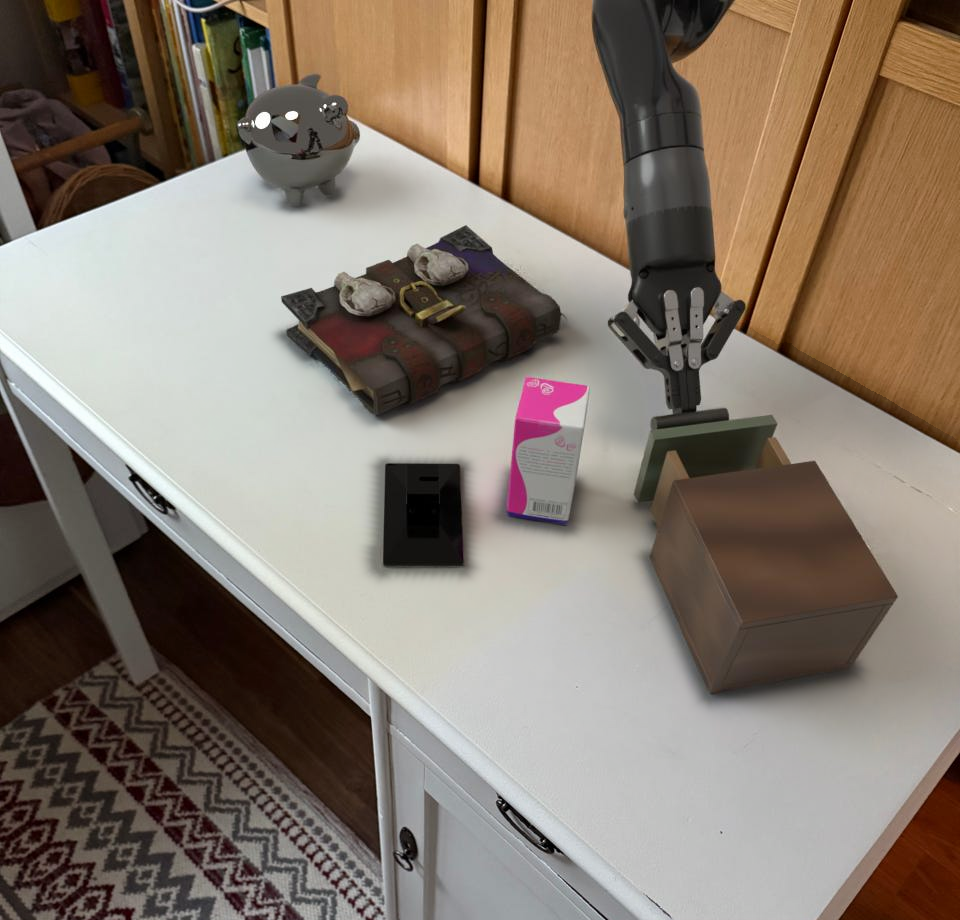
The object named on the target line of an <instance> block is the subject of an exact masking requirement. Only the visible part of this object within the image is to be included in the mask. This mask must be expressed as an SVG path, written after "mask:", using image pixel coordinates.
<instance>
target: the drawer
mask: <svg viewBox="0 0 960 920" xmlns="http://www.w3.org/2000/svg"><path fill="white" fill-rule="evenodd" d="M777 426H778V422H777V420H776V418H775V417H774V415H773V414H767V415H759V416H751V417H743V418H735V419H730V413H729V409H728V408H726V407H719V408H710V409H702V410H696V411H694V412H686V413H678V414H673V413H671V414H663V415H654V416H652V417H651V419H650V430H649V433H648V437H647V440H646V445H645V448H644V452H643V457H642V460H641V464H640V468H639V472H638V476H637V480H636V484H635V487H634V491H633V496H634V499H635V501H636V503H637V504H643V503H650V502H652V504H651V507H650V512H651V515H652V517H653V519H654V522H655V524H656V526H657V528H659V525H660V522H661V518H662V515H663V512H664V509H665V505H666V502H667V499H668V495H669V492H670V489H671V486H672V483H673V481H674V480H679V479H686V478H694V477H701V476H708V475H715V474H722V473H730V472H737V471H744V470H751V469H758V468H766V467H773V466H780V465H787V464H792V462H791V461H790V459H789V457H788V455H787V454H786V452H785V451H784V449H783V447H782V445H781V443H780V441H779V440H778V438H777V437H776V436H774V434H775V432H776V429H777Z"/></svg>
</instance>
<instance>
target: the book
mask: <svg viewBox="0 0 960 920" xmlns="http://www.w3.org/2000/svg"><path fill="white" fill-rule="evenodd" d="M280 299H281V303H282V304H283V306H285V307H286V308H287V310H288V311H289V312H290V313H291V314H292V315H293V316H294V317H295V318H296V319H297V320H298V323H297V324H296V325H293V326H292V327H289V328H287V329H286V330H285V333H286V336H287V337H288V338H289V339H290V340H291V341H292V342H293V343H295V345H297V347H298V348H300V349H301V350H302V351H303V352H304V353H305V354H306V355H308V357H312V356H314V357H315V358H316V359H318V360H319V362H321V363H322V364H323V365H324V366H325V367H326V368H327V369H328V370H329V371H330V372H331V373H332V374H333V375H334V376H335V377H336V378H337V379H338V380H339V381H340V382H341V383H342V384H343V385H344V386H345V387H346V388H348V390H349V391H350V392H352V394H353V395H354V396H355V397H356V398H358V400H359V401H360V403H361V404H362V405H363V407H364V408H365V409H366V410H367V411H368V412H369V413H370V414H372V415H374V416H378V415H380V414H382V413H385V412H388V411H390V410H391V409H393V408H396V407H398V406H400V405H403V404H404V405H407V406H410V405H413V404H414V403H416V402H419V401H421V400H423V399H426V398H428V397H430V396H431V395H433V394H436V393H437V392H438V391H439V390H440V389H441V387H442V386H444V385H445V384H449V383H451V382H452V381H455V382H460V381H462V380H465V379H466V378H468V377H471V376H473V375H475V374H478V373H480V372H482V371H483V370H484V369H485V368H486V367H487V365H490V364H491V363H493V362H495V361H498V360H502V361H507V360H509V359H511V358H514V357H515V356H517V355H520V354H523V353H524V352H527V351H529V350H531V349H532V348H533V346H534V345H535V343H537V342H540V341H542V340H544V339H546V338H548V337H551V336H553V335H555V334H556V333H558V331H560V329H561V328H560V327H561V320H562V316H563V317H564V318H565V319H566V321H568V319H567V316H565V314H564V313H562V312H561V308H560V305H559V304H558V303H557V301H556V300H555V299H554V298H553V297H551V295H549V294H547V293H543V292H541V291H540V290H539V289H537V288H536V287H535V286H534V285H532V284H531V283H529V282H528V281H527V280H526V279H524V278H523V277H522V276H521V275H520V274H518V273H517V272H515V271H514V270H513V269H512V268H511V267H510V266H508V265H507V264H506V263H504V262H503V261H502V260H501V259H499V258H498V257H497V255H495V254H494V252H493V247H492V246H491V245H490V244H488V242H486V240H484V239H483V238H482V237H480V235H478V234H477V233H476V232H475V231H473V230H472V229H471V228H470V227H469V226H468V225H466V224H465V225H463V226H461V227H459V228H457V229H455V230H453V231H451V232H449V233H447V234H445V235H443V236H441V237H439V240H438V241H437V242H436V243H434V244H431V245H429V246H427V247H424V246H421V244H419V243H415V244H412V245H411V246H410V247H409V249H408V250H407V252H406V256H404V257H403V258H400V259H398V260H396V261H394V262H392V261H391V260H390V259H386V260H384V261H381V262H379V263H375V264H373V265H371V266H368V267H365V274H364V273H363V274H361V275H358V276H357V277H354V276H352V275H350V274H348V273H347V272H346V271H342V272H340V273H337V276H335V278H334V281H333V286H331V287H328V288H325V289H323V290H321V291H315V290H314V289H313V287H309V288H305V289H302V290H299V291H295V292H291V293H288V294H285V295H282V296H280Z"/></svg>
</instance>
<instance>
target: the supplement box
mask: <svg viewBox="0 0 960 920" xmlns="http://www.w3.org/2000/svg"><path fill="white" fill-rule="evenodd" d="M590 391H591V386H590V385H586V384H579V383H572V382H565V381H557V380H551V379H545V378H544V379H543V378H538V377H537V378H536V377H530V376H525V378H524V382H523V387H522V390H521V394H520V399H519V402H518V407H517V409H516V413H515V418H514V425H513V427H514V428H513V439H512V448H511V459H510V469H509V470H510V471H509V482H508V490H507V491H508V492H507V501H506V502H507V503H506V515H507V516H508V517H514V518H520V519H526V520H533V521H537V522H538V521H540V522H545V523H551V524H558V525H564V526H568V524H569V519H570V515H571V509H572V504H573V503H572V502H573V498H574V494H575V488H576V487H575V486H576V481H577V474H578V469H579V464H580V458H581V451H582V445H583V439H584V434H585V427H586V421H587V413H588V406H589V397H590Z"/></svg>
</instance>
